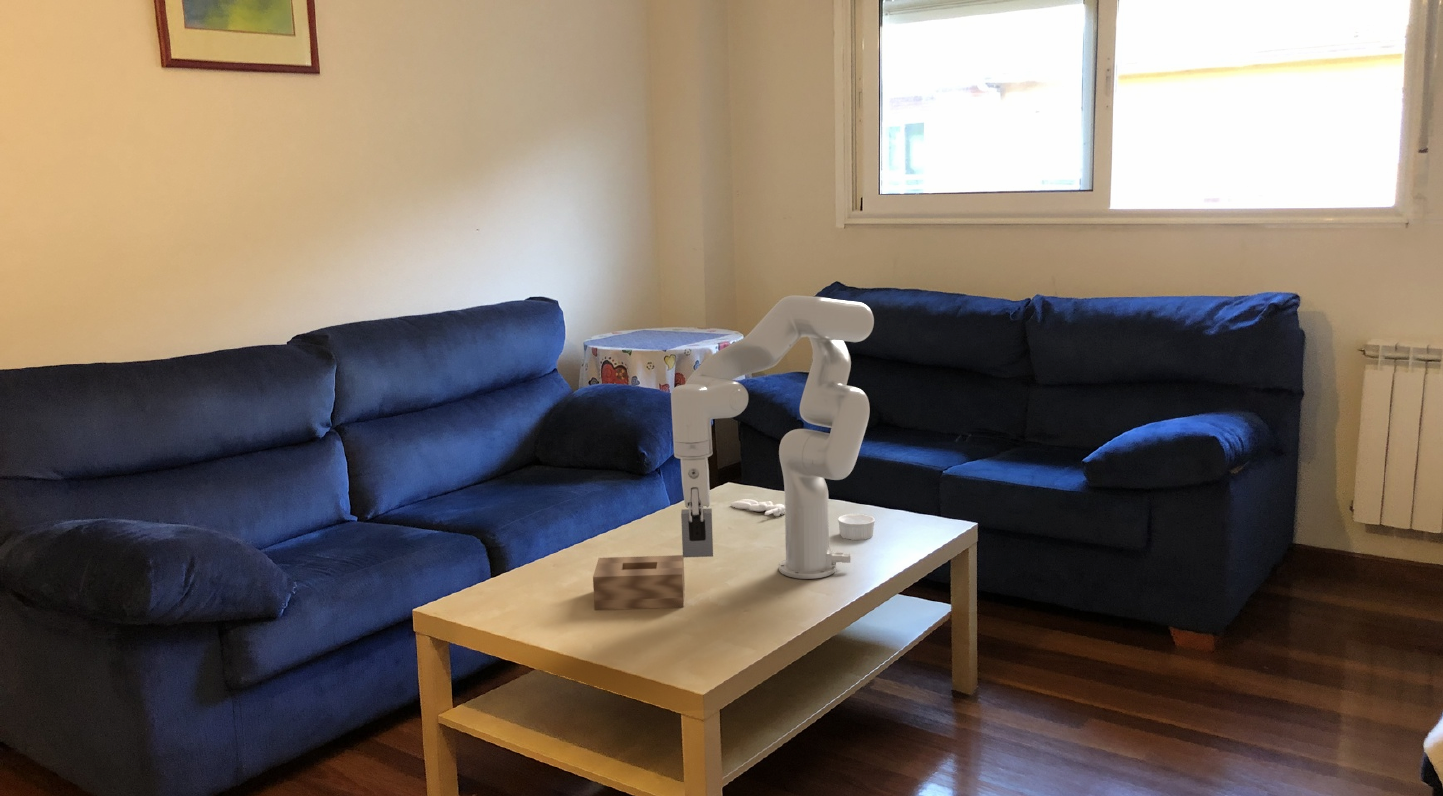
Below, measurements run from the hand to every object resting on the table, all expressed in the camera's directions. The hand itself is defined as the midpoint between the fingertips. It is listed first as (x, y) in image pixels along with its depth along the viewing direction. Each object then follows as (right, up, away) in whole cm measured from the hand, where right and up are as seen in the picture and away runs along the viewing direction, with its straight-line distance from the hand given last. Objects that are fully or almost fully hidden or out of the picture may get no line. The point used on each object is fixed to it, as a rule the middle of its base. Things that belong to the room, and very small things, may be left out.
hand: (697, 536), depth 218 cm
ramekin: (+37, -6, +48) cm, 61 cm away
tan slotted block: (-12, -14, +10) cm, 21 cm away
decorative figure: (+15, -3, +71) cm, 73 cm away
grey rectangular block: (0, -4, +1) cm, 4 cm away
